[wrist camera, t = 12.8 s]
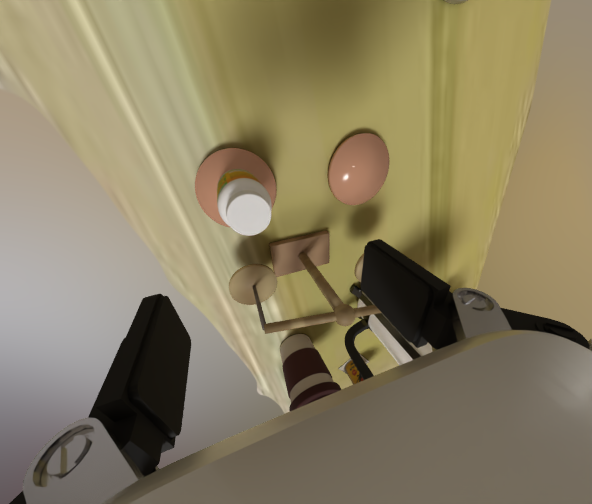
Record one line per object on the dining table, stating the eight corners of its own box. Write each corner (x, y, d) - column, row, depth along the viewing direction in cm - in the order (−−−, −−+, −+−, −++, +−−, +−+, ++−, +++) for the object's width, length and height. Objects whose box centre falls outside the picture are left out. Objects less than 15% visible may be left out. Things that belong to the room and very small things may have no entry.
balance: (362, 220, 37) (452, 274, 23) (359, 252, 40) (436, 315, 26) (222, 252, 31) (228, 349, 17) (232, 285, 35) (244, 389, 21)
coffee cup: (295, 322, 44) (326, 395, 32) (322, 336, 50) (357, 403, 37) (264, 352, 46) (282, 433, 33) (293, 362, 51) (319, 436, 39)
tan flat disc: (183, 152, 24) (182, 153, 23) (268, 143, 26) (270, 143, 25) (209, 231, 29) (209, 234, 28) (278, 217, 32) (280, 220, 30)
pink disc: (325, 136, 28) (330, 137, 27) (388, 130, 31) (394, 129, 29) (326, 207, 33) (329, 210, 32) (379, 197, 36) (384, 199, 35)
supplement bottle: (216, 165, 25) (217, 181, 17) (262, 171, 26) (282, 188, 18) (217, 209, 27) (218, 242, 19) (258, 212, 29) (275, 242, 21)
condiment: (357, 352, 59) (386, 396, 49) (369, 361, 64) (397, 403, 54) (338, 368, 60) (362, 414, 50) (350, 375, 64) (375, 419, 55)
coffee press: (367, 254, 41) (589, 434, 17) (412, 272, 49) (612, 413, 24) (324, 319, 47) (446, 526, 22) (371, 325, 55) (501, 485, 30)
